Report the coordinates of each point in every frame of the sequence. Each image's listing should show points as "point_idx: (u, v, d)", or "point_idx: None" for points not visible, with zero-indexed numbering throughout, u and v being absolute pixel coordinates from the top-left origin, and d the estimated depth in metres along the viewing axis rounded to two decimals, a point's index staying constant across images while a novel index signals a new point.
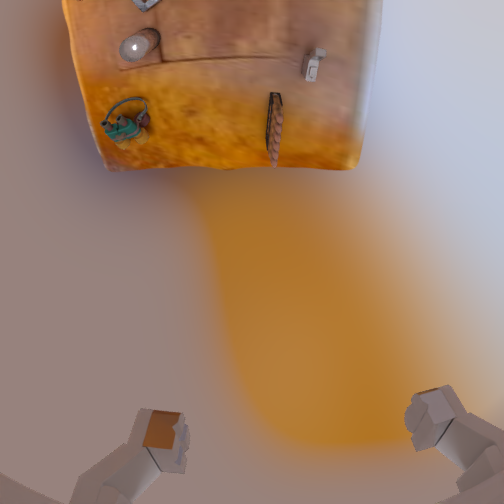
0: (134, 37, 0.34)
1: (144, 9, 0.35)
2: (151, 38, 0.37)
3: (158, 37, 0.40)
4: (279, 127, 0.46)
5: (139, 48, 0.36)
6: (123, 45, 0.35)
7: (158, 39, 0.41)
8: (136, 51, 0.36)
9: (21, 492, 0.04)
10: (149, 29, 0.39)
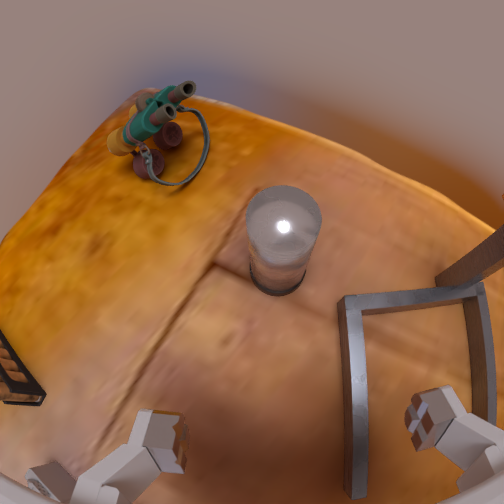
0: (310, 240, 0.17)
1: (348, 302, 0.22)
2: (275, 273, 0.20)
3: (266, 288, 0.24)
4: None
5: (273, 232, 0.17)
6: (309, 206, 0.18)
7: (262, 286, 0.24)
8: (271, 221, 0.17)
9: (21, 492, 0.04)
10: (296, 284, 0.24)
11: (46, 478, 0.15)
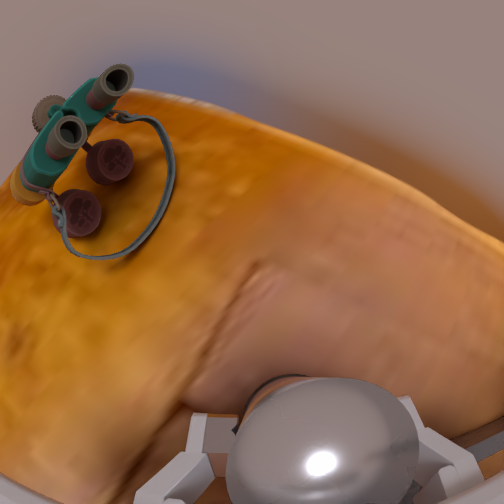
0: None
1: None
2: None
3: None
4: None
5: None
6: (395, 434, 0.05)
7: None
8: (293, 487, 0.05)
9: (21, 492, 0.04)
10: None
11: None
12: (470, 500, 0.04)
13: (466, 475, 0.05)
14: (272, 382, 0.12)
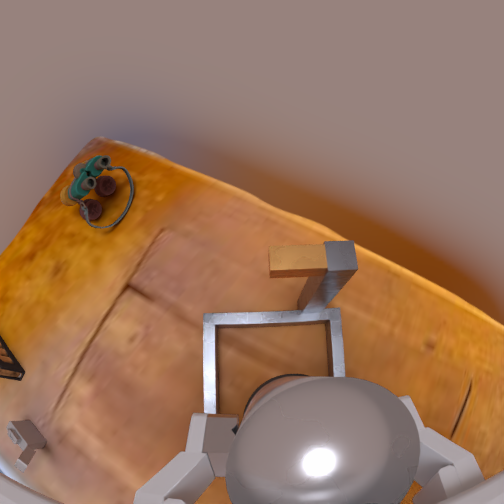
0: None
1: (205, 318, 0.31)
2: None
3: None
4: None
5: None
6: (396, 433, 0.05)
7: None
8: (294, 487, 0.05)
9: (21, 492, 0.04)
10: None
11: (20, 428, 0.24)
12: (470, 500, 0.04)
13: (466, 475, 0.05)
14: (272, 382, 0.12)
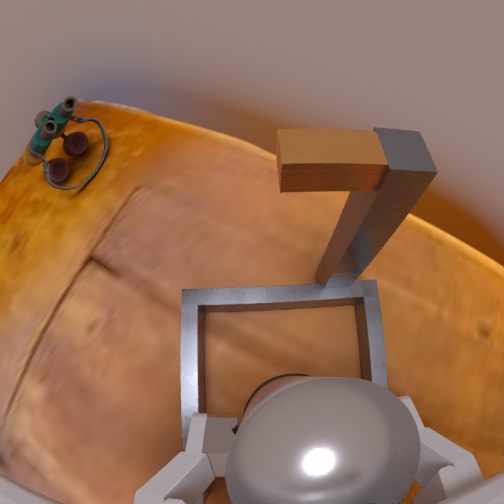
0: None
1: (185, 296, 0.22)
2: None
3: None
4: None
5: None
6: (396, 433, 0.05)
7: None
8: (294, 487, 0.05)
9: (21, 492, 0.04)
10: None
11: None
12: (470, 500, 0.04)
13: (466, 475, 0.05)
14: (272, 381, 0.12)
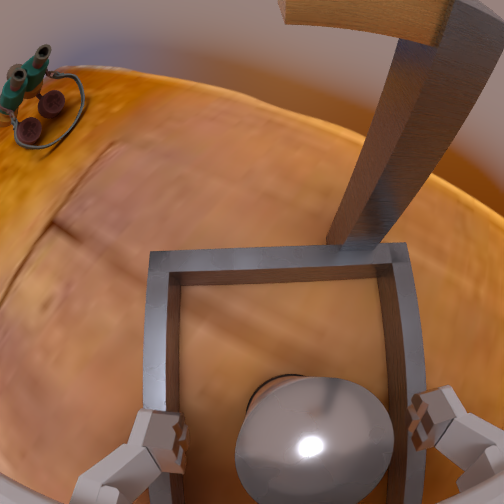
0: (365, 490, 0.06)
1: (153, 261, 0.16)
2: None
3: None
4: None
5: (293, 487, 0.06)
6: (372, 424, 0.07)
7: None
8: (289, 466, 0.06)
9: (21, 492, 0.04)
10: None
11: None
12: (470, 500, 0.04)
13: None
14: (272, 381, 0.14)
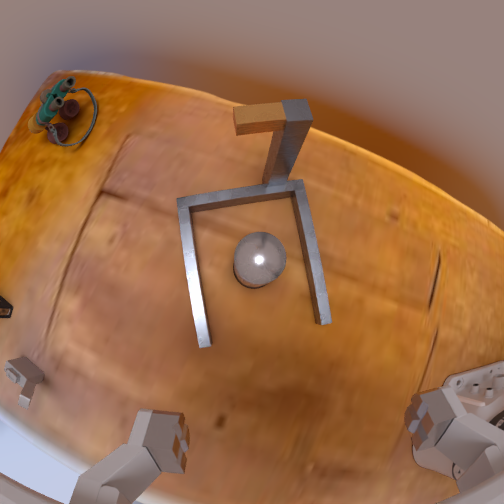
0: (279, 272, 0.26)
1: (179, 202, 0.33)
2: (256, 285, 0.29)
3: (248, 286, 0.33)
4: None
5: (254, 270, 0.26)
6: (276, 247, 0.26)
7: (245, 285, 0.33)
8: (252, 262, 0.26)
9: (21, 492, 0.04)
10: None
11: (17, 365, 0.27)
12: (470, 500, 0.04)
13: None
14: None
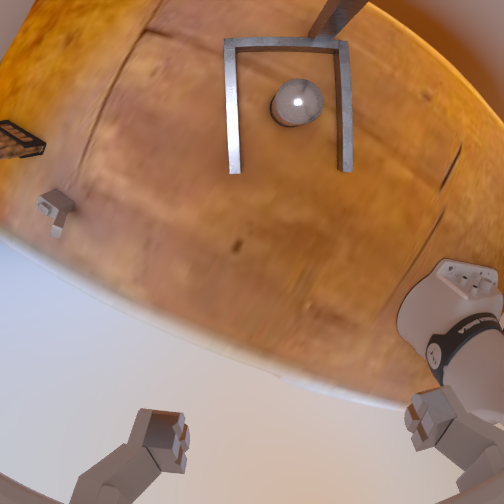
0: (315, 117, 0.26)
1: (226, 42, 0.28)
2: (290, 124, 0.29)
3: (282, 124, 0.33)
4: None
5: (293, 111, 0.25)
6: (316, 94, 0.25)
7: (279, 122, 0.33)
8: (292, 104, 0.25)
9: (21, 492, 0.04)
10: None
11: (49, 198, 0.34)
12: (470, 500, 0.04)
13: None
14: None
